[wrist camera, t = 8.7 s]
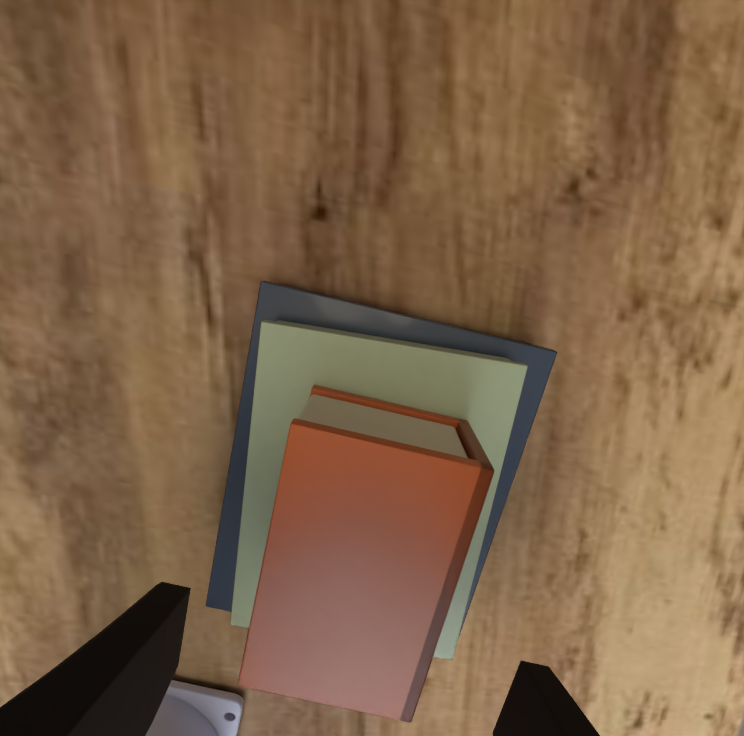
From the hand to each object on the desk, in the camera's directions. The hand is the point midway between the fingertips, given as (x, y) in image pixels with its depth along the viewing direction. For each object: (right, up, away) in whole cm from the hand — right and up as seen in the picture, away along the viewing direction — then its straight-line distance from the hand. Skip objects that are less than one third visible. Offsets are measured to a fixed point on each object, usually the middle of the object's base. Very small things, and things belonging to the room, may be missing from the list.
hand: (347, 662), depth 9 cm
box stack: (0, +2, +9) cm, 9 cm away
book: (0, +1, +5) cm, 5 cm away
